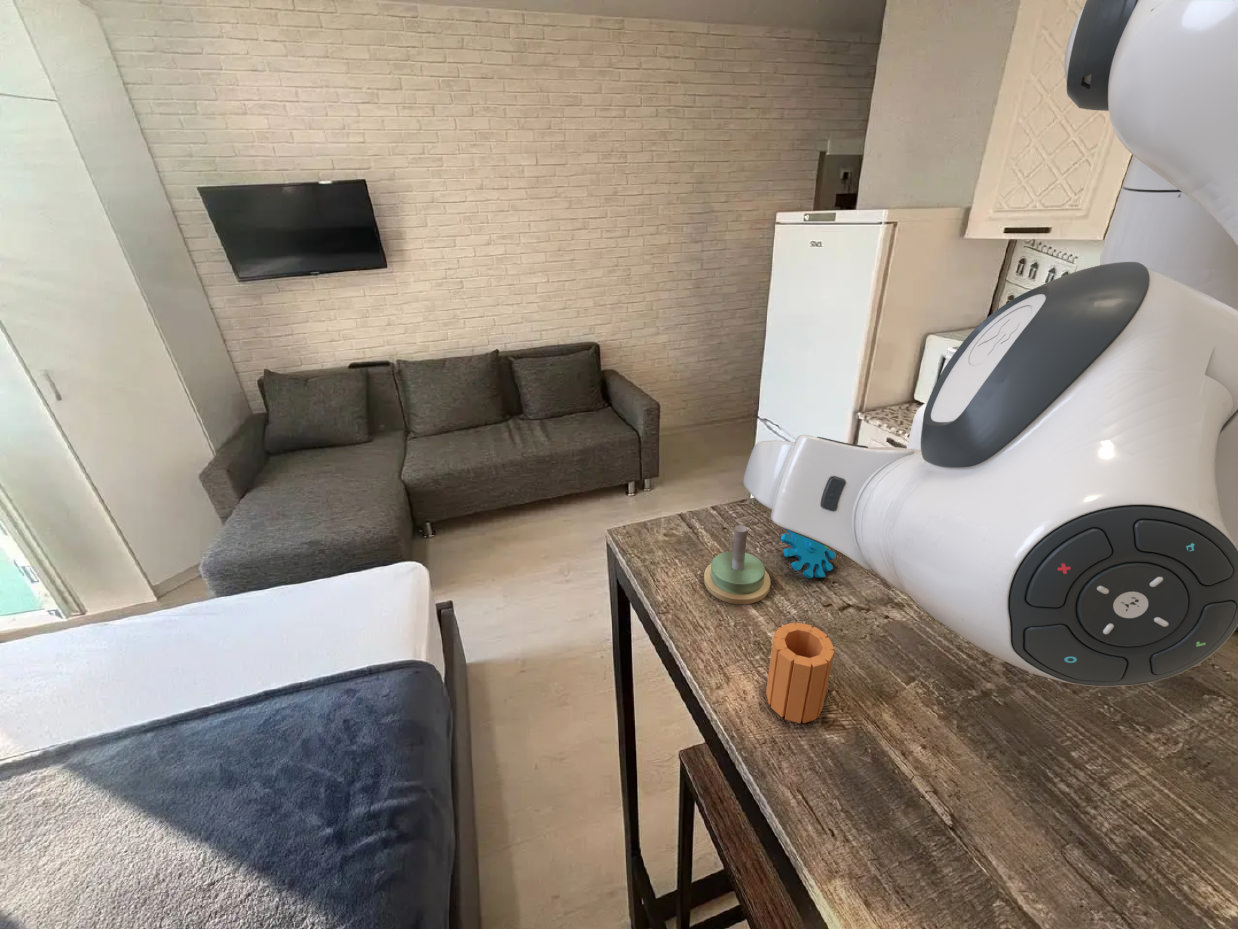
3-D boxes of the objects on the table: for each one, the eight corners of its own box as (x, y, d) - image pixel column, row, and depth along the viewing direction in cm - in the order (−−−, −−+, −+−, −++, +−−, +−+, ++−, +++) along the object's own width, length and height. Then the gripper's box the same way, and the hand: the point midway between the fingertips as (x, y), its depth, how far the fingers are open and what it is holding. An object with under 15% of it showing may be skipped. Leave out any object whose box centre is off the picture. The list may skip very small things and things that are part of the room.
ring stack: (761, 561, 83) (767, 509, 78) (777, 604, 74) (784, 548, 70) (700, 562, 83) (702, 510, 79) (708, 605, 75) (711, 549, 70)
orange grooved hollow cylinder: (812, 676, 63) (822, 621, 59) (829, 723, 57) (842, 666, 53) (761, 677, 63) (768, 622, 59) (774, 723, 57) (782, 666, 53)
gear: (802, 584, 75) (777, 520, 78) (776, 591, 80) (753, 530, 83) (851, 568, 80) (826, 508, 83) (824, 575, 85) (801, 519, 88)
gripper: (1101, 520, 32) (974, 490, 45) (779, 426, 33) (750, 425, 47) (1063, 613, 32) (949, 556, 46) (750, 517, 34) (729, 489, 48)
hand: (846, 489), depth 47 cm, fingers open, 8 cm apart
